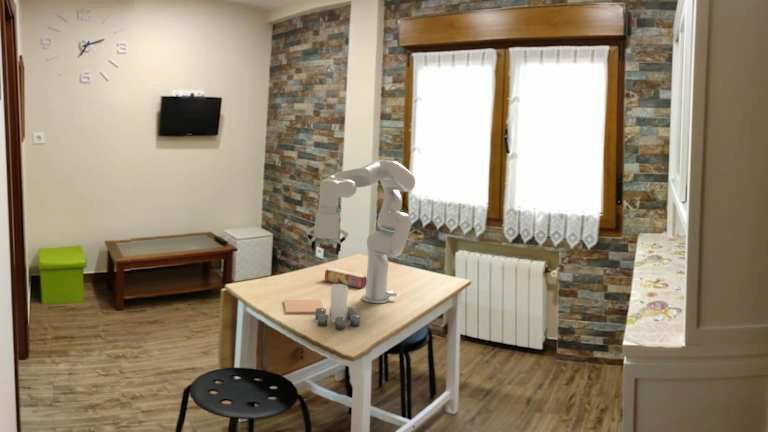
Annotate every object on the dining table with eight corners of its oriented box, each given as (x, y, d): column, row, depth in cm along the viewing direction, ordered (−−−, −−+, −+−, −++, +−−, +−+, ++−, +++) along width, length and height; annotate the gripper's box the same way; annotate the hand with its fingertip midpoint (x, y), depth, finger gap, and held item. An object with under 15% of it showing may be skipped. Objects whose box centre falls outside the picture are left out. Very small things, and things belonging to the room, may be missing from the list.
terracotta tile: (320, 302, 268) (320, 299, 267) (324, 313, 252) (324, 311, 252) (283, 302, 264) (283, 299, 264) (285, 314, 249) (286, 311, 248)
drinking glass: (329, 324, 240) (332, 288, 237) (328, 319, 246) (330, 283, 244) (346, 324, 241) (349, 288, 239) (344, 319, 247) (346, 283, 245)
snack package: (366, 286, 298) (367, 273, 297) (360, 289, 292) (361, 276, 291) (329, 279, 307) (330, 266, 306) (323, 281, 301) (323, 268, 300)
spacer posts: (354, 314, 255) (354, 305, 254) (362, 330, 236) (362, 320, 236) (313, 314, 251) (314, 305, 250) (319, 330, 233) (319, 320, 232)
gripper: (350, 210, 245) (347, 251, 248) (308, 207, 246) (306, 248, 249) (348, 213, 238) (345, 255, 240) (305, 209, 238) (302, 252, 241)
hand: (325, 251), depth 244 cm, fingers open, 9 cm apart
